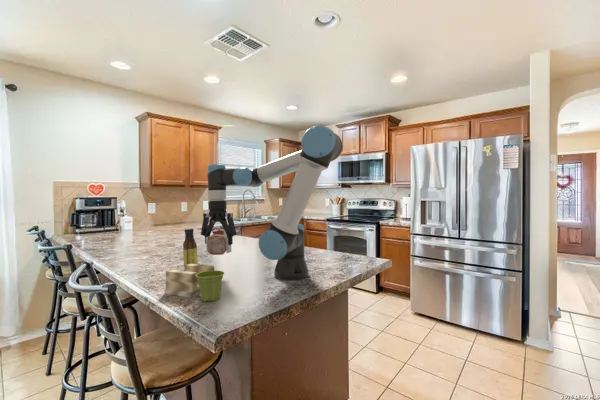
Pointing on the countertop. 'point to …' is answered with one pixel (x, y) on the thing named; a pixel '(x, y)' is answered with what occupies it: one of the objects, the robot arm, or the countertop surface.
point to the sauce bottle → (189, 248)
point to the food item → (217, 243)
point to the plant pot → (210, 284)
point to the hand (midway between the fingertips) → (218, 251)
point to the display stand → (185, 280)
